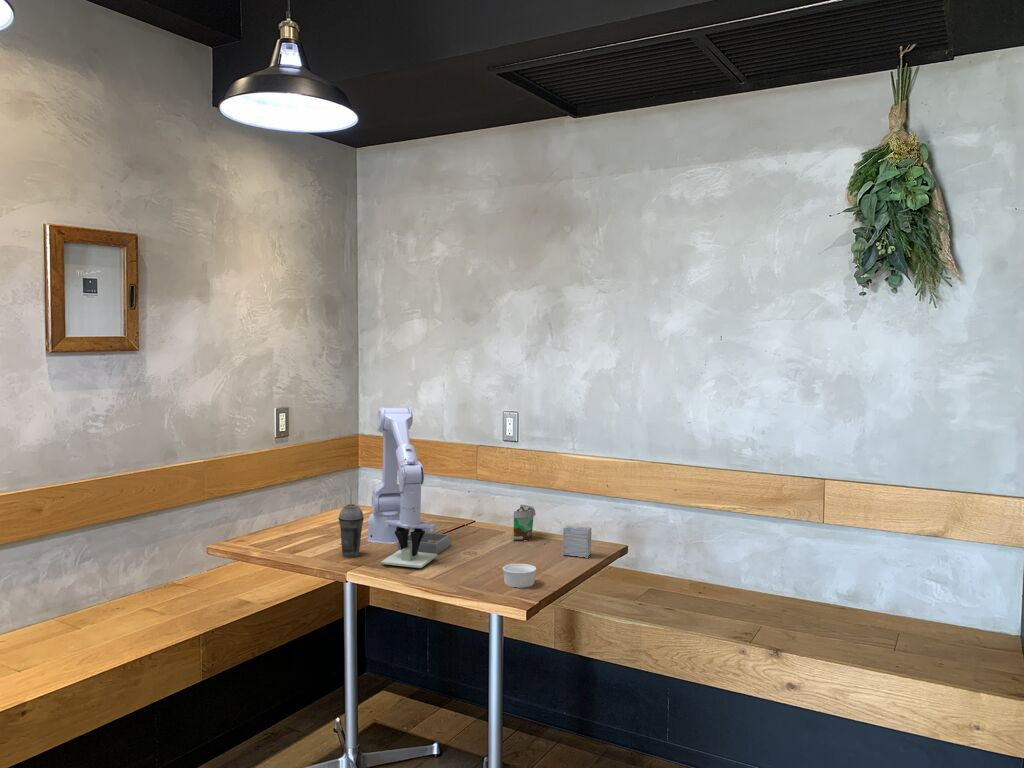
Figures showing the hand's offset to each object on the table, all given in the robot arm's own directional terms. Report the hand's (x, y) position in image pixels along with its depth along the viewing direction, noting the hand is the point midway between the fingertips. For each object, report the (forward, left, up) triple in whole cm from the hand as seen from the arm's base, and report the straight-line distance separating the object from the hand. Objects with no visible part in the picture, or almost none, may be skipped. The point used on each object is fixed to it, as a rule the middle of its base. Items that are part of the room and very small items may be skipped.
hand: (409, 554), depth 218 cm
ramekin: (+34, -6, -3) cm, 35 cm away
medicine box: (+43, +27, -3) cm, 51 cm away
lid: (0, 0, -2) cm, 2 cm away
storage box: (-2, +16, -3) cm, 16 cm away
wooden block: (0, +18, -2) cm, 18 cm away
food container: (+23, +42, -3) cm, 48 cm away
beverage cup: (-19, +1, -3) cm, 19 cm away
